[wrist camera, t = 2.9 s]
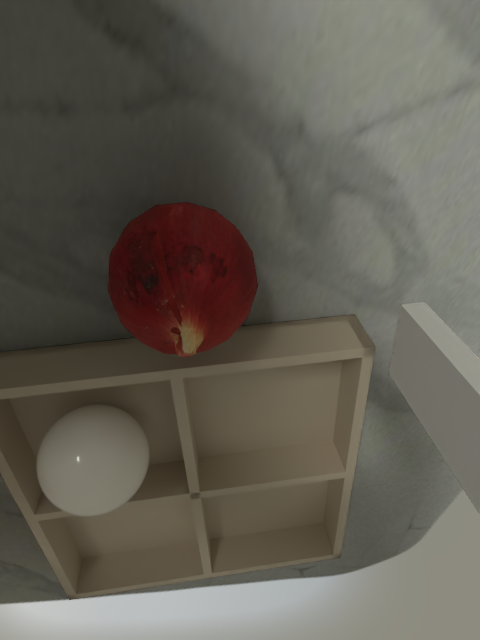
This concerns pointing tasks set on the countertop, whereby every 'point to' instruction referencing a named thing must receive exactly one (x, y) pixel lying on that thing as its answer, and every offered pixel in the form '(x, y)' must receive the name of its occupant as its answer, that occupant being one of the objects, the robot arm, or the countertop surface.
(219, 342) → the onion
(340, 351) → the wooden tray
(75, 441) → the ceramic egg
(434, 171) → the countertop surface
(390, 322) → the countertop surface
